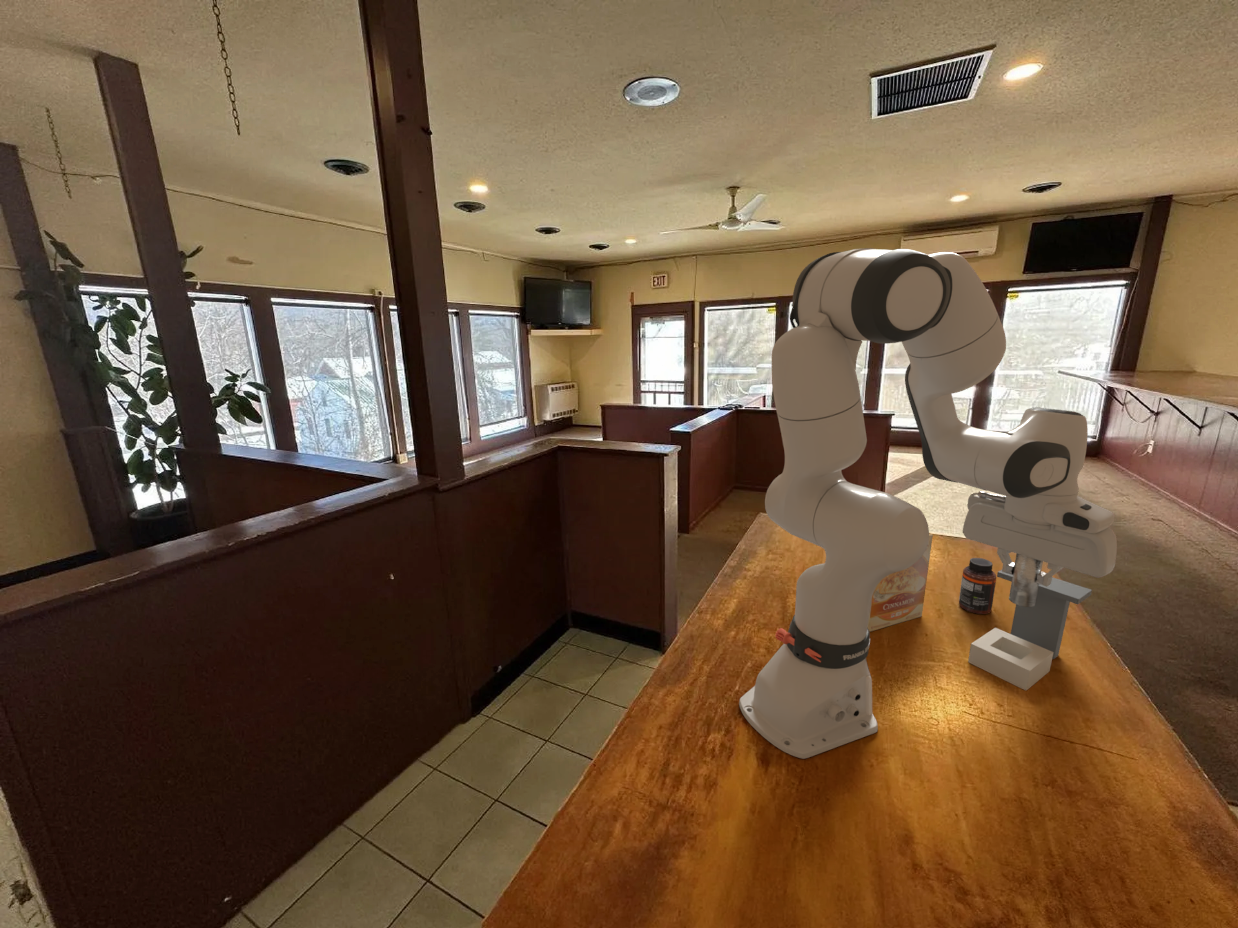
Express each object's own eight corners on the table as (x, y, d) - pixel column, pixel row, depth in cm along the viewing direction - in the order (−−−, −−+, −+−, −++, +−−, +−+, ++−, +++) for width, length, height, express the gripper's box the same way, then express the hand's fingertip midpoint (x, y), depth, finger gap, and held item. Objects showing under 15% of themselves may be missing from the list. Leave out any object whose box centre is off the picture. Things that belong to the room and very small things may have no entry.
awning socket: (1036, 695, 82) (1053, 617, 78) (959, 657, 92) (970, 586, 88) (1075, 662, 89) (1092, 589, 85) (999, 630, 99) (1011, 564, 95)
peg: (1029, 609, 83) (1038, 556, 81) (1004, 600, 86) (1013, 548, 84) (1038, 602, 85) (1048, 550, 82) (1014, 593, 88) (1023, 543, 85)
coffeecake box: (869, 632, 101) (877, 546, 96) (843, 615, 107) (850, 533, 102) (924, 617, 105) (934, 534, 100) (896, 600, 112) (905, 522, 107)
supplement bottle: (980, 600, 110) (987, 555, 107) (997, 615, 104) (1005, 567, 101) (952, 600, 111) (959, 555, 108) (967, 615, 105) (975, 567, 102)
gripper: (960, 492, 88) (951, 561, 92) (1113, 527, 71) (1094, 610, 74) (978, 485, 91) (969, 552, 95) (1129, 517, 74) (1110, 597, 77)
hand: (1025, 578), depth 84 cm, fingers closed on peg, 4 cm apart
